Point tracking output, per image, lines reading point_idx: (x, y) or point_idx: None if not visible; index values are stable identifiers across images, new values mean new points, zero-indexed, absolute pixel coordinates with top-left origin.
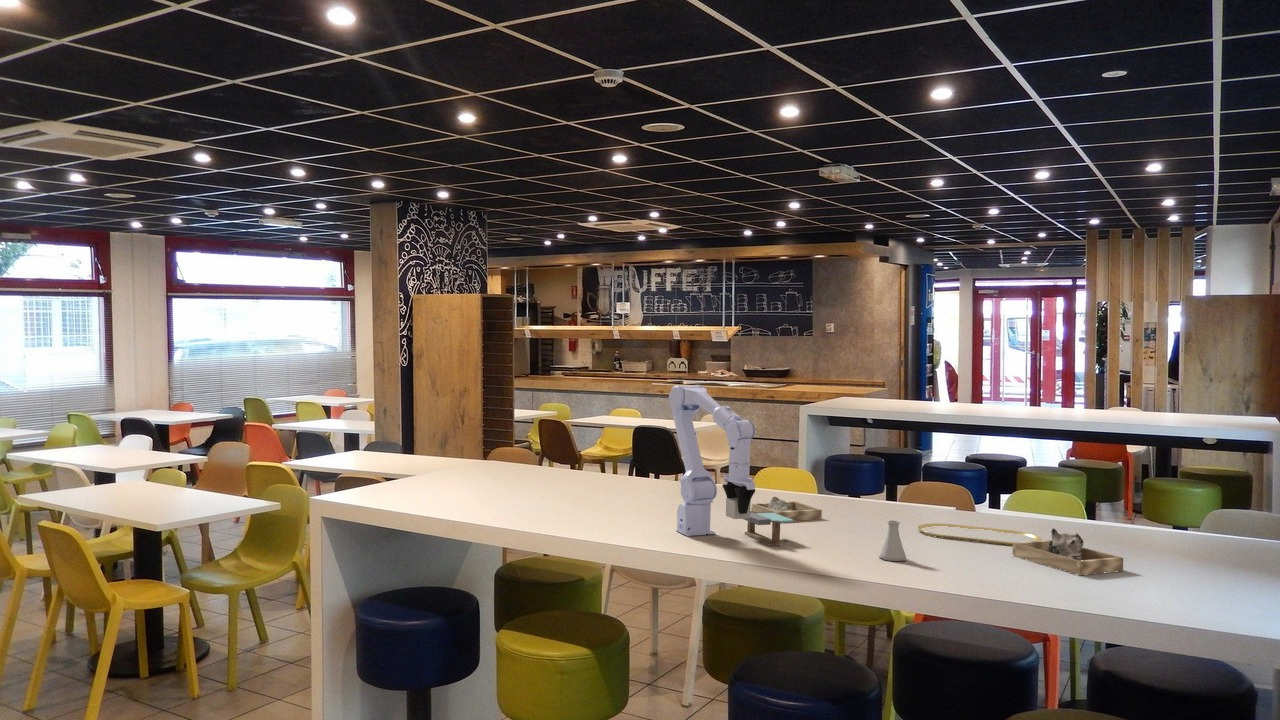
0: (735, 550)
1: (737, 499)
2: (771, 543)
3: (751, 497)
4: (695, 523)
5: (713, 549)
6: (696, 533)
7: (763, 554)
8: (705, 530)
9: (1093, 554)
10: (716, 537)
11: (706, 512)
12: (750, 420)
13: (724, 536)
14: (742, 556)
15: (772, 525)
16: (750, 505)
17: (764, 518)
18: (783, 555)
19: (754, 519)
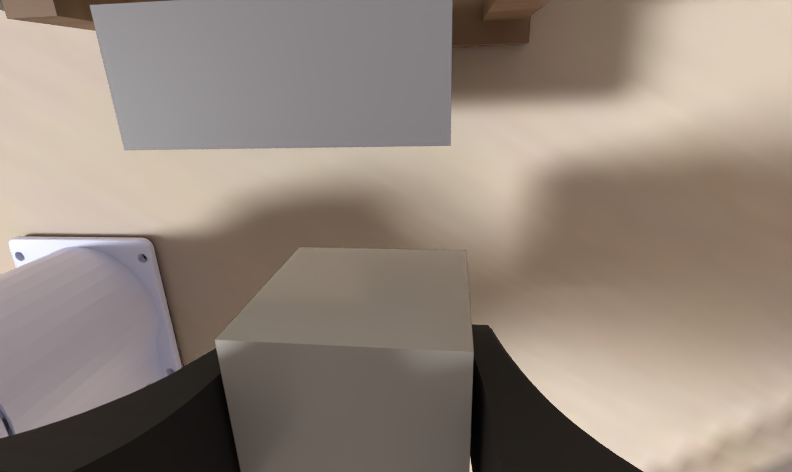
0: (536, 316)
1: (366, 467)
2: (510, 42)
3: (590, 438)
4: (120, 380)
5: None
6: (163, 344)
7: (692, 219)
8: (142, 304)
9: None
10: (219, 264)
11: (54, 364)
12: None
13: (199, 210)
14: (673, 347)
15: (500, 2)
16: (468, 310)
17: (403, 43)
18: (785, 109)
19: (376, 145)
